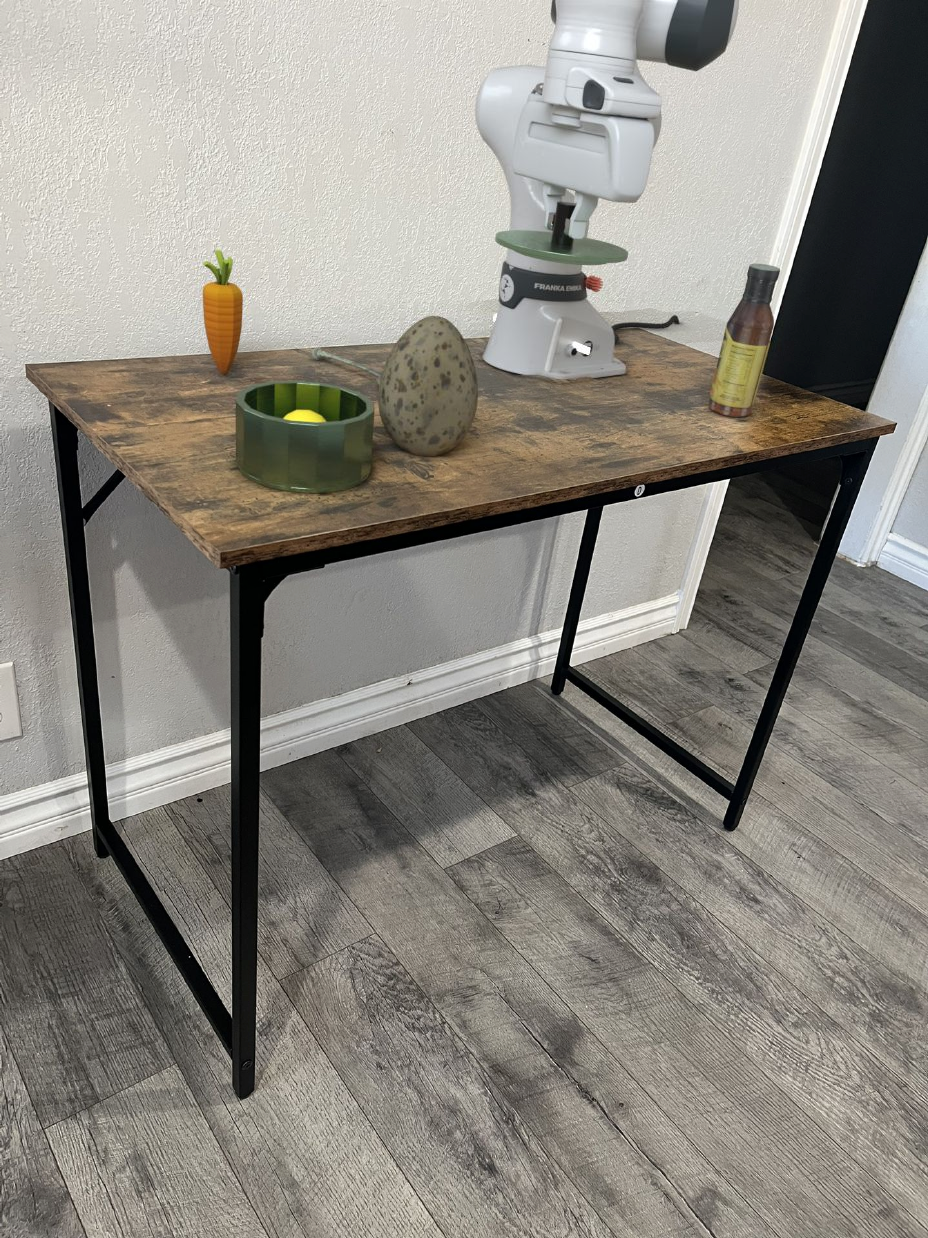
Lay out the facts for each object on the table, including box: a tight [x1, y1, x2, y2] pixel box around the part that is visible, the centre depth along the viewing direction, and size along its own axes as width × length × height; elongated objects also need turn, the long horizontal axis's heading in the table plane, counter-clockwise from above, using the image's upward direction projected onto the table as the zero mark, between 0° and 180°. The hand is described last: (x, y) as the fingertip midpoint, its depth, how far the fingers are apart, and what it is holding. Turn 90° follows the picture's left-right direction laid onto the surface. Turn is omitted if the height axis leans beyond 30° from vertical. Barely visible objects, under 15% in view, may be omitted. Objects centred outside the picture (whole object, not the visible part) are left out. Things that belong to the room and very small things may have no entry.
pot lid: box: [494, 202, 629, 266], centre depth 102 cm, size 15×15×5 cm
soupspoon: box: [311, 347, 382, 385], centre depth 126 cm, size 22×3×7 cm
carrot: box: [202, 249, 244, 376], centre depth 118 cm, size 5×5×15 cm
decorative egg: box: [377, 315, 479, 457], centre depth 102 cm, size 11×11×15 cm
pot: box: [235, 380, 375, 494], centre depth 96 cm, size 14×14×7 cm
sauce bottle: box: [708, 263, 781, 418], centre depth 129 cm, size 7×6×20 cm
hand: (563, 233), depth 103 cm, fingers closed on pot lid, 2 cm apart
